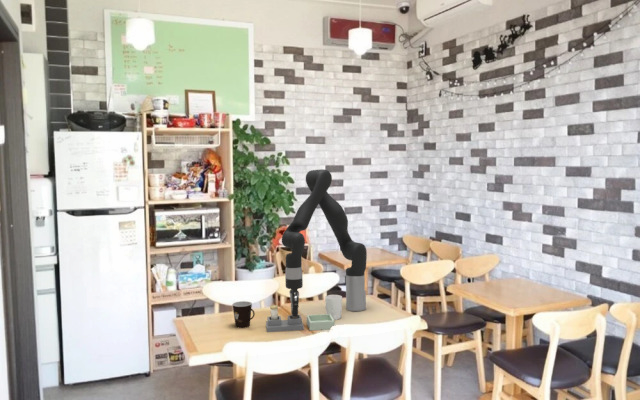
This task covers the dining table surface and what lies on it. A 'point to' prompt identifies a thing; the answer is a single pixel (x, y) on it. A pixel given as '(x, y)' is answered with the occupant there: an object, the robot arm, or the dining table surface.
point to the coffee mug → (242, 313)
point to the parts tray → (320, 322)
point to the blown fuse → (292, 313)
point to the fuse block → (284, 324)
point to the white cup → (334, 306)
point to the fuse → (274, 312)
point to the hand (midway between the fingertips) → (294, 314)
